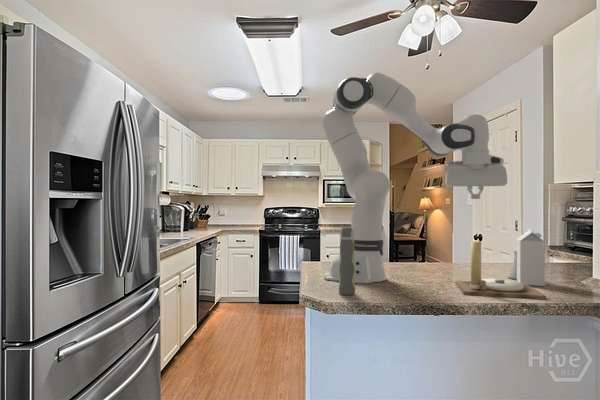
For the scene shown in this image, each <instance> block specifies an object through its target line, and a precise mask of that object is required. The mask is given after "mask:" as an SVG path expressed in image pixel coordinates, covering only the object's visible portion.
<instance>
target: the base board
mask: <svg viewBox="0 0 600 400" xmlns="http://www.w3.org/2000/svg"><path fill="white" fill-rule="evenodd" d="M454 284H455V285H456V287H457V288H458V289H459V291H460V292H461V293H462V295H467V296H479V297H480V296H482V297H484V296H485V297H500V298H514V299H515V298H517V299H531V300H532V299H533V300H547V295H546V294H544V293H542V292H540V291H538V289H535V288H533V287H532V285H527V284H523V285H524V290H521V291H498V290H491V289H486V281H484V280H480V289H474V288H470V284H471V280H470V281H467V280H454Z"/></svg>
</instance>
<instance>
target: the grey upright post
mask: <svg viewBox="0 0 600 400" xmlns="http://www.w3.org/2000/svg"><path fill="white" fill-rule="evenodd" d="M339 254H340V269H339V271H340V279H339V281H338V282H339V284H338V285H339V287H338V293H339V294H340V295H342V296H353V295H355V294H356V284H355V266H354V230H353V229H352V228H351V227H350V226H342V228H341V229H340V233H339Z"/></svg>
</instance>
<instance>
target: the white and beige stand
mask: <svg viewBox="0 0 600 400" xmlns="http://www.w3.org/2000/svg"><path fill="white" fill-rule="evenodd" d="M470 246H471V247H470V281H471V284H470V288H474V289H480V280H484V281H486V289H491V290H498V291H521V290H524V285H523V284H522V283H519V282H518V281H517V280H512V279H511V280H509V279H502V278H482V242H481V241H471V242H470Z"/></svg>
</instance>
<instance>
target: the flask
mask: <svg viewBox="0 0 600 400" xmlns="http://www.w3.org/2000/svg"><path fill="white" fill-rule="evenodd" d="M513 253H514V254H513V255H514V257H513V262H512V265H511V268H510V269H509V271H508V274H507V278H508V279H511V280H515V281H517V250H514V251H513Z"/></svg>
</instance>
